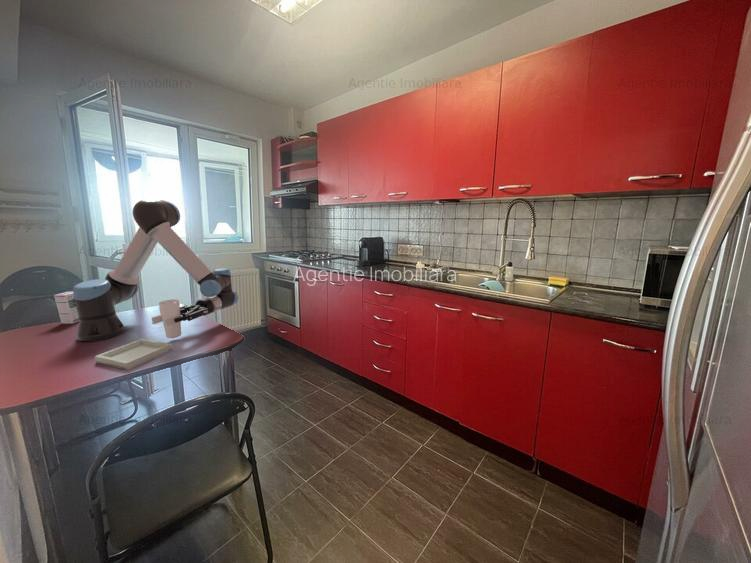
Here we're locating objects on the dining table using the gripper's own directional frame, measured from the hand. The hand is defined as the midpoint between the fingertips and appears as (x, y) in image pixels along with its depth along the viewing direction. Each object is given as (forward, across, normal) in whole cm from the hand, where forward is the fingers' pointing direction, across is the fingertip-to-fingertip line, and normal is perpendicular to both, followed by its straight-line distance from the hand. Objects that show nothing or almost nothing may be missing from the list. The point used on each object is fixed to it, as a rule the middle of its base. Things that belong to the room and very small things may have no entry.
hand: (159, 322), depth 116 cm
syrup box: (-5, +67, -11) cm, 68 cm away
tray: (+10, 0, -10) cm, 14 cm away
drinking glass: (-5, 0, -8) cm, 10 cm away
